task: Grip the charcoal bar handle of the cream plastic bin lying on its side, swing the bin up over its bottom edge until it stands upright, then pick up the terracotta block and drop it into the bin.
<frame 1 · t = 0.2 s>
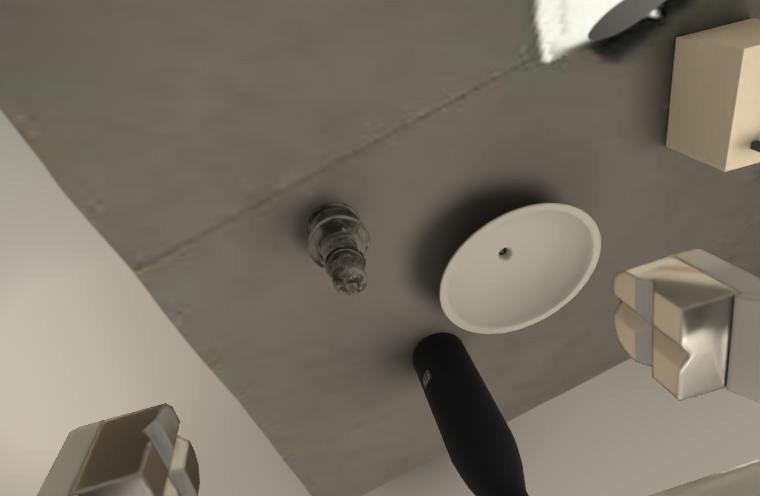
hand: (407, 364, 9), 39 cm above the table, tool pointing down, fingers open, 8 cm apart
bin: (751, 96, 47), point 6 cm above the table, hinge at 0.0°
dish: (500, 248, 57), on the table
salt shaker: (334, 226, 51), on the table
black bottle: (437, 353, 62), on the table
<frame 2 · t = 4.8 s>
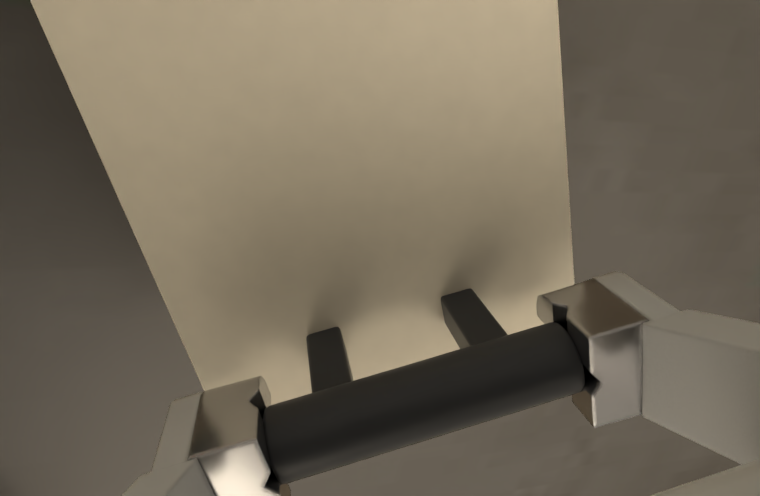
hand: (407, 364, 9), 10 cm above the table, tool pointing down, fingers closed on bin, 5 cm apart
bin: (338, 134, 11), point 6 cm above the table, hinge at 0.0°, touching gripper
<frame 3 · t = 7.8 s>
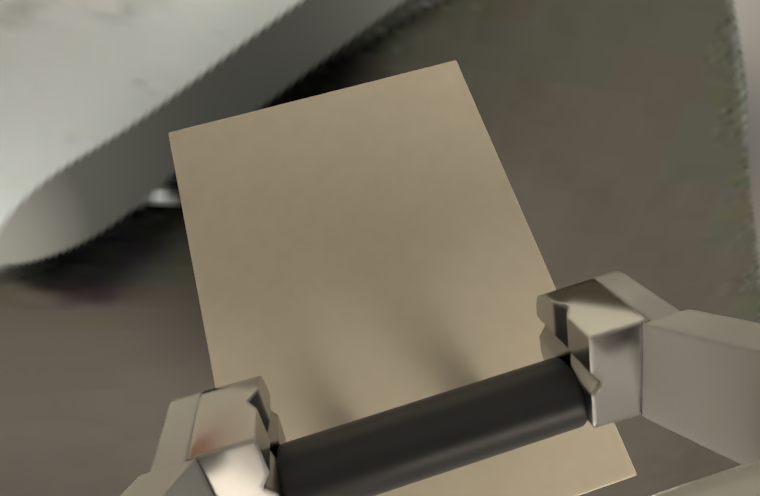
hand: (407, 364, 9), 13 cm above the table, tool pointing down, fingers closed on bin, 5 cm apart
bin: (375, 308, 14), point 8 cm above the table, hinge at 44.8°, touching gripper
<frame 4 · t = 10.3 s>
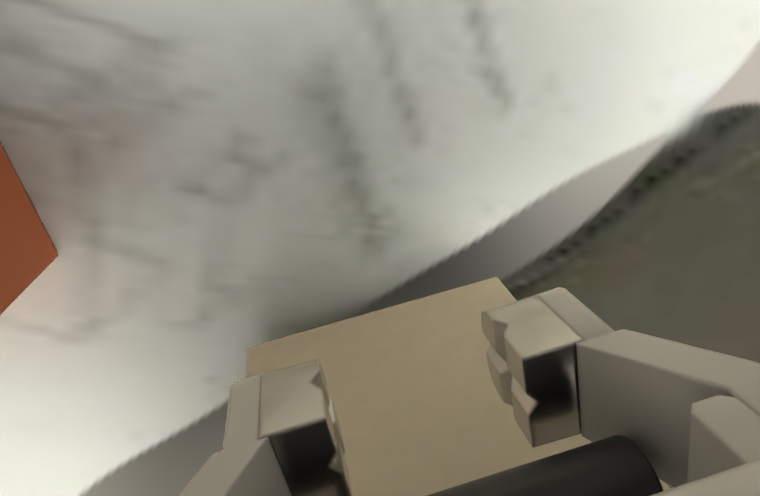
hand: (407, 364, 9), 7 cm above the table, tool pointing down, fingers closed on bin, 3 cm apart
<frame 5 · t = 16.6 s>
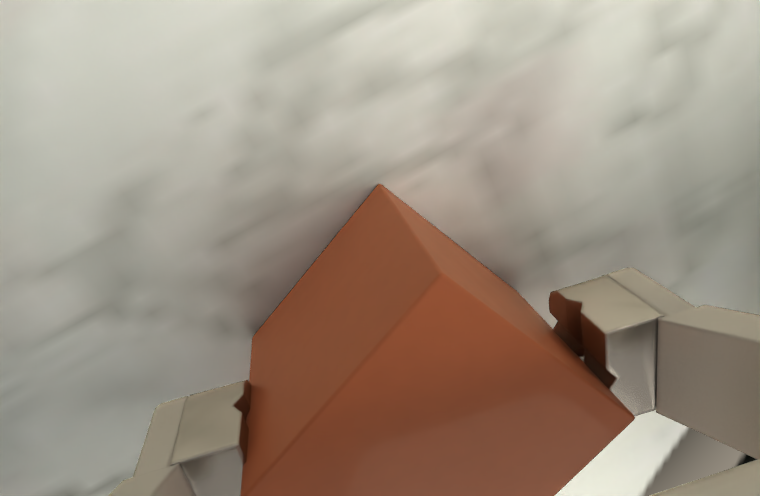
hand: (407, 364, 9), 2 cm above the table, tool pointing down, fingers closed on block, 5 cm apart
block: (389, 314, 11), on the table, touching gripper
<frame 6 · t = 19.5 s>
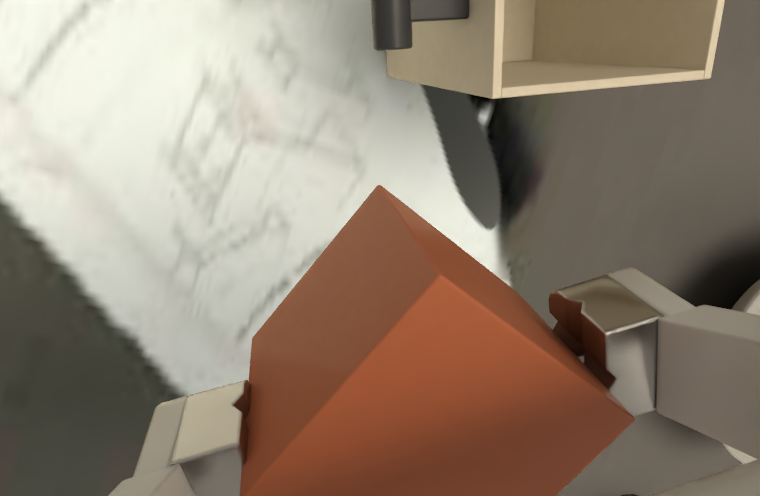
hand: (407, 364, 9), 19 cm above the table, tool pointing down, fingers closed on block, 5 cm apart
block: (389, 315, 11), point 17 cm above the table, touching gripper
dish: (745, 324, 38), on the table
when the fingers open (12 cm above the table, at t = 22.5 s): block drops 10 cm, resting on bin.
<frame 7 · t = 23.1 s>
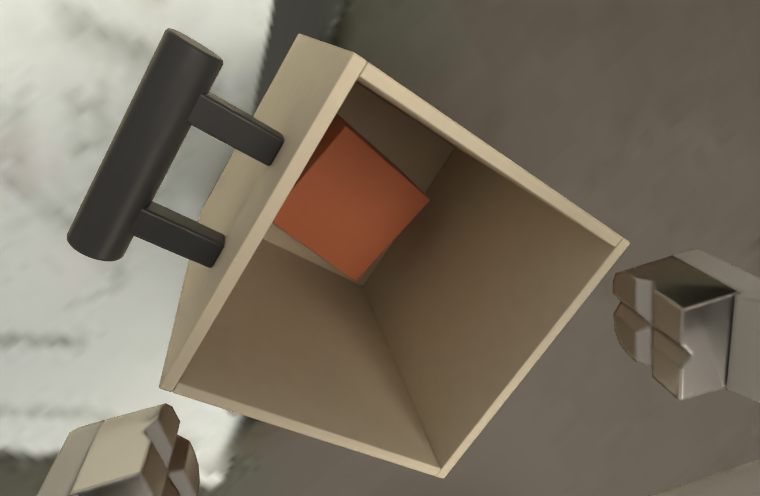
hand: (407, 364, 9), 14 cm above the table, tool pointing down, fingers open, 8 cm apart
bin: (320, 203, 16), point 6 cm above the table, hinge at 86.8°, touching block
block: (333, 176, 21), point 1 cm above the table, touching bin
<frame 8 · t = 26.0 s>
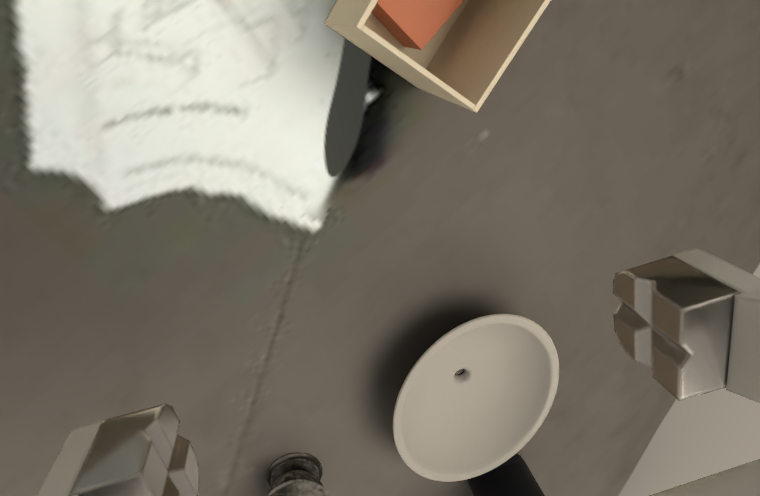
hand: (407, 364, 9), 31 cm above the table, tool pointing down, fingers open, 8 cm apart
block: (403, 2, 35), point 1 cm above the table, touching bin
dish: (457, 368, 49), on the table
salt shaker: (294, 472, 50), on the table
black bottle: (496, 472, 55), on the table
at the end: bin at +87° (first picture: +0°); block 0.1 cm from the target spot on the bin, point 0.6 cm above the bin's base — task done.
